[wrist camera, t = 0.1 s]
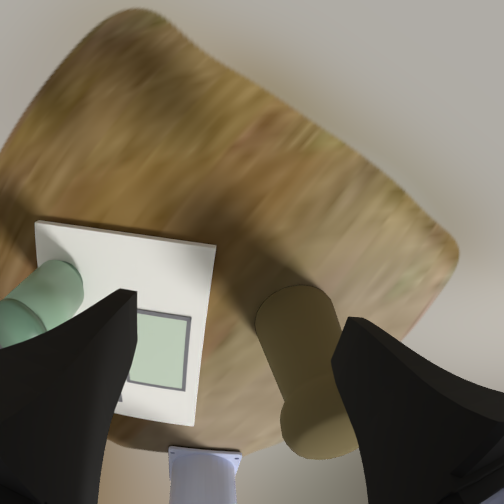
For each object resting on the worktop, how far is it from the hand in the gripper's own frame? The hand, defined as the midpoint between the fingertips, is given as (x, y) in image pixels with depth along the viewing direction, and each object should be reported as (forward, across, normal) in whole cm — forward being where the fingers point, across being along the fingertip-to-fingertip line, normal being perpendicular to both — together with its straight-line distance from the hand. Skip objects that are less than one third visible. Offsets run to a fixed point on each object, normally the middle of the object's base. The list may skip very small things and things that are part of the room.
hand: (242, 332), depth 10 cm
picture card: (+10, +7, +10) cm, 16 cm away
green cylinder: (+9, +11, +5) cm, 16 cm away
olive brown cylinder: (+10, -6, +6) cm, 13 cm away
